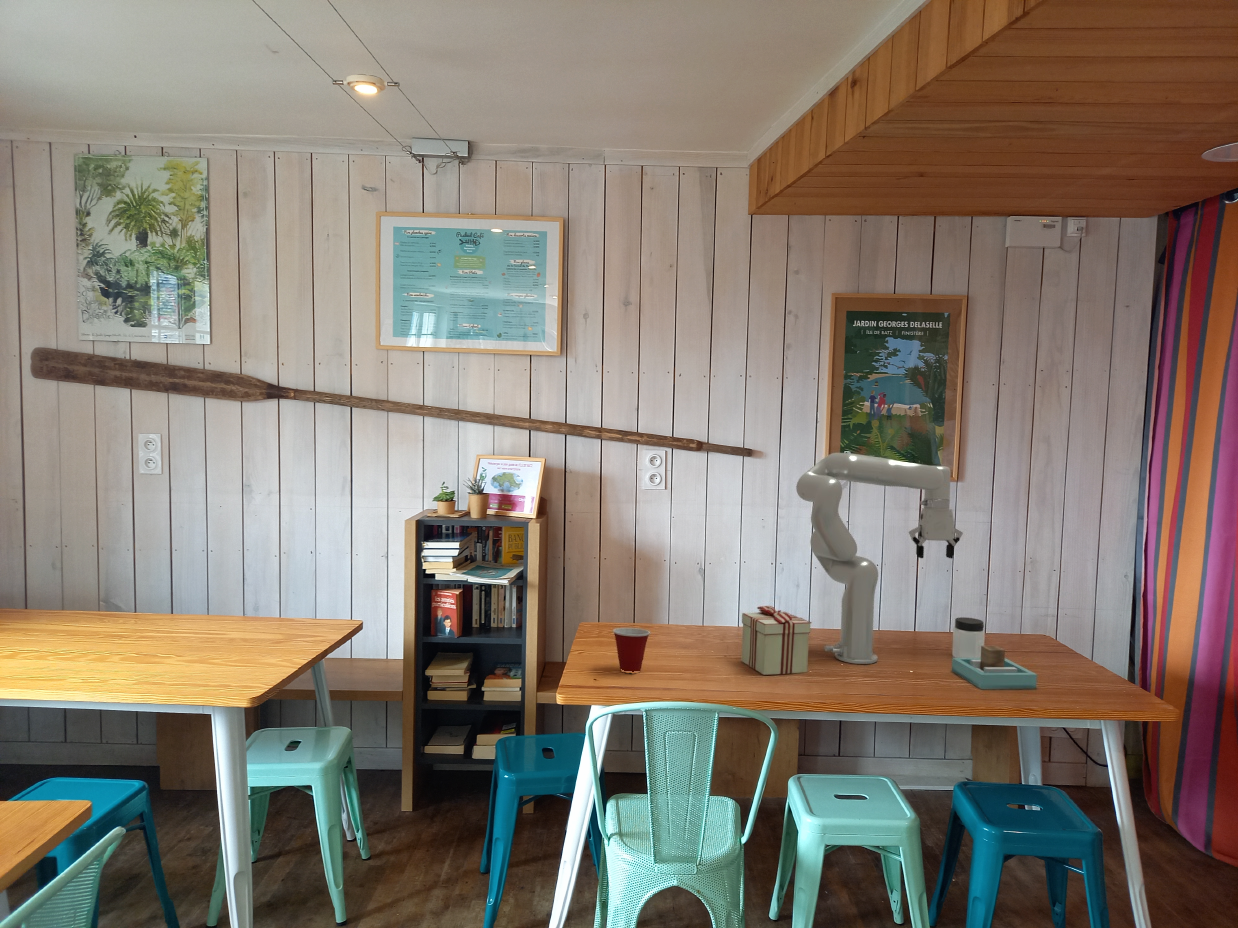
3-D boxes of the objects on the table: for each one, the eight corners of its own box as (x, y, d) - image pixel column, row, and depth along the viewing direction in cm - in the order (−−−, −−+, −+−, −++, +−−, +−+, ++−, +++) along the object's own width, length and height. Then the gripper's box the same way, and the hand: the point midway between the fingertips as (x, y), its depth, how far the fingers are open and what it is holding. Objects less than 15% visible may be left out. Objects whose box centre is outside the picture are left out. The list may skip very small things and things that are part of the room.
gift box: (819, 671, 229) (821, 612, 228) (766, 677, 222) (767, 617, 221) (786, 655, 245) (787, 600, 244) (734, 661, 238) (736, 604, 237)
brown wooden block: (988, 678, 222) (989, 650, 222) (980, 673, 226) (981, 645, 226) (1003, 678, 222) (1004, 650, 222) (995, 673, 227) (996, 645, 226)
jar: (971, 663, 239) (973, 624, 239) (947, 656, 246) (949, 619, 246) (988, 659, 244) (990, 621, 244) (964, 652, 251) (965, 615, 250)
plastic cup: (655, 668, 228) (656, 627, 228) (640, 678, 219) (641, 636, 218) (621, 663, 233) (622, 623, 232) (605, 673, 223) (606, 631, 223)
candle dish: (980, 689, 215) (981, 672, 215) (951, 671, 231) (952, 656, 231) (1036, 688, 217) (1037, 672, 216) (1003, 670, 233) (1004, 655, 232)
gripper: (915, 505, 246) (913, 559, 247) (968, 505, 247) (966, 559, 248) (905, 503, 253) (903, 555, 254) (956, 503, 255) (955, 556, 255)
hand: (934, 557), depth 251 cm, fingers open, 9 cm apart
